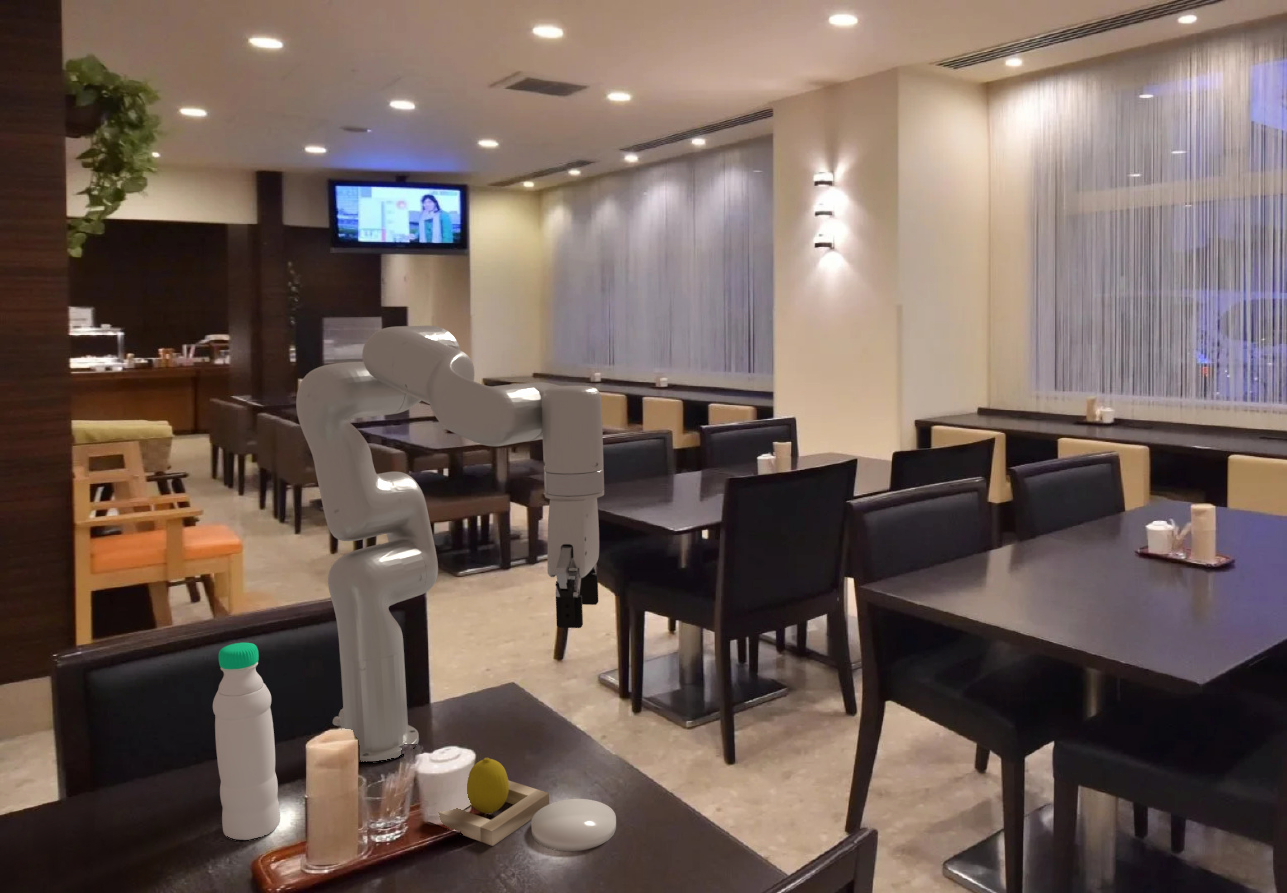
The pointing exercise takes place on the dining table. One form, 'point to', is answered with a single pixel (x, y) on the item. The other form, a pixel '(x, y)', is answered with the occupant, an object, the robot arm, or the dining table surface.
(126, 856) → the dining table surface
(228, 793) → the water bottle
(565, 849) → the saucer
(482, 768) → the lemon
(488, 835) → the frame
